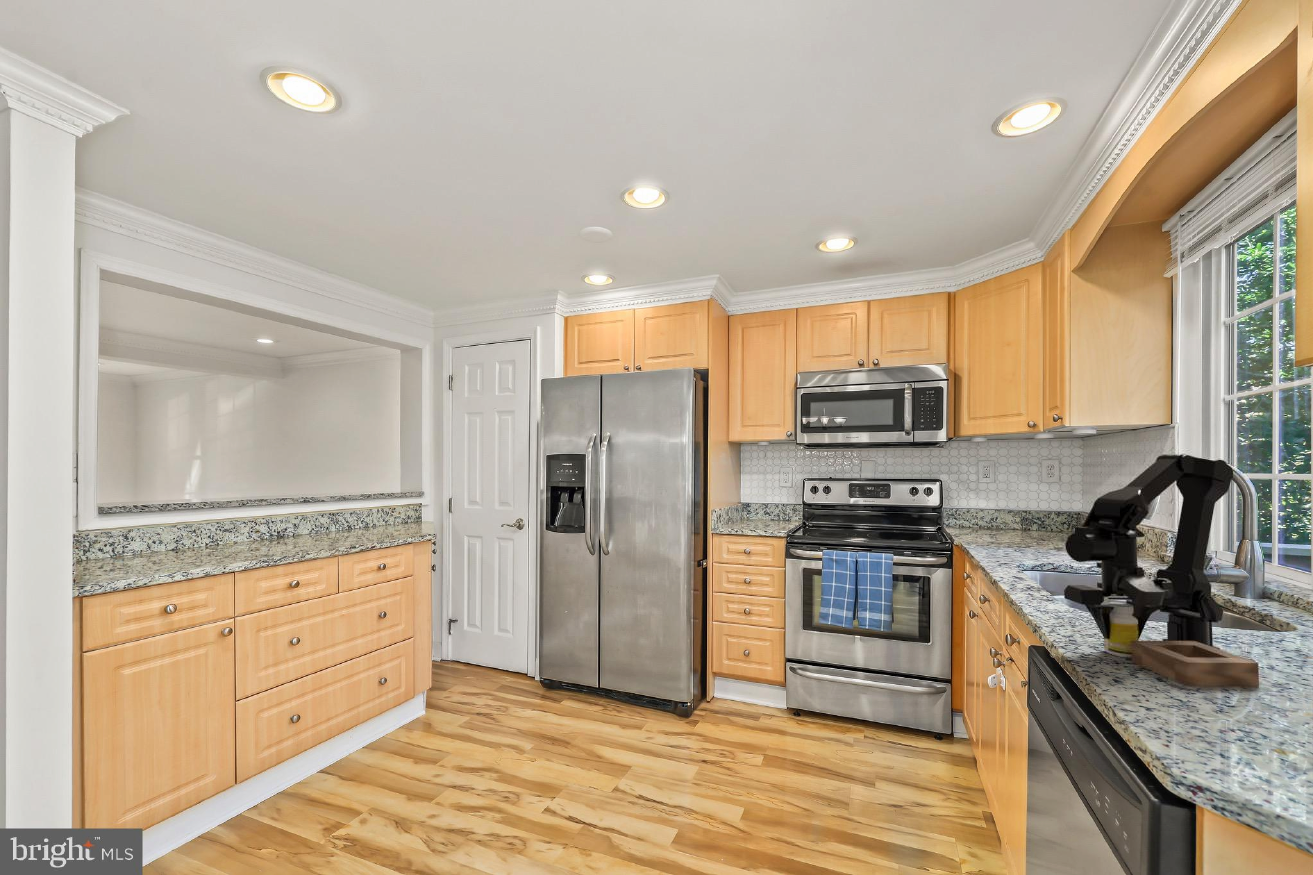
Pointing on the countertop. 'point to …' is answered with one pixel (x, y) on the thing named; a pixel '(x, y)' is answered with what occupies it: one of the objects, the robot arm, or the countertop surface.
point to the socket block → (1195, 663)
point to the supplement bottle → (1121, 630)
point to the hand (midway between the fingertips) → (1121, 638)
